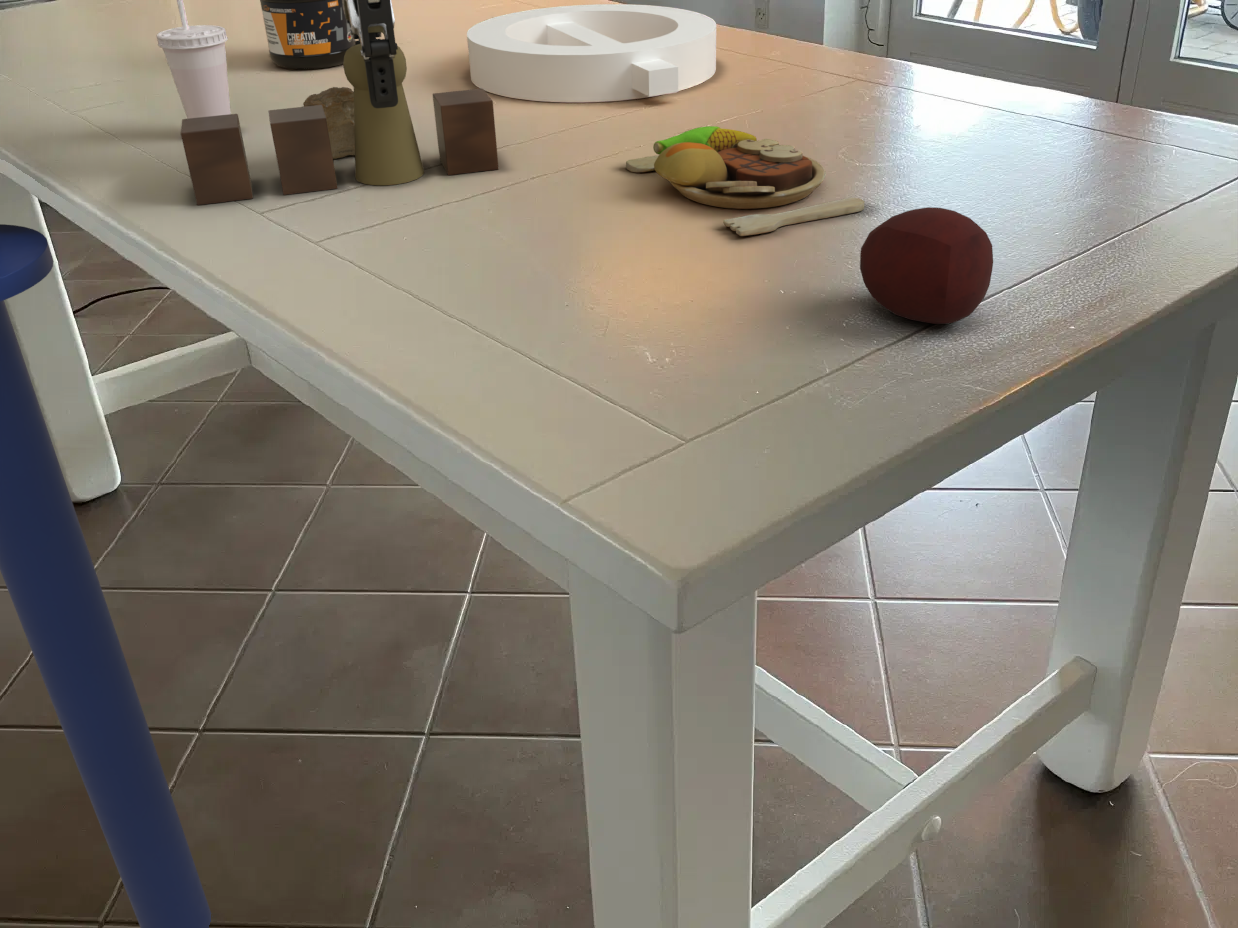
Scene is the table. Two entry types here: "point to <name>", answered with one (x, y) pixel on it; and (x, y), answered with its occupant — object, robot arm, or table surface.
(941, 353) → the table surface
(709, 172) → the toy food set
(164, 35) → the smoothie
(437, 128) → the block
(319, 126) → the block
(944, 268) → the potato
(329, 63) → the supplement container
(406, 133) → the olive round-topped cone
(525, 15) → the white circle with bar
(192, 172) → the block
